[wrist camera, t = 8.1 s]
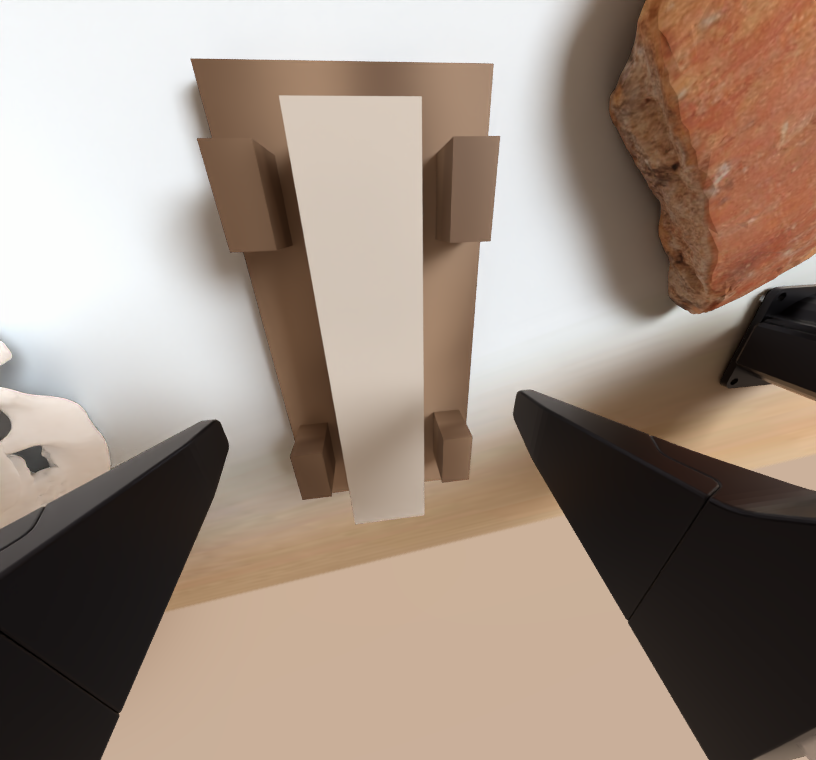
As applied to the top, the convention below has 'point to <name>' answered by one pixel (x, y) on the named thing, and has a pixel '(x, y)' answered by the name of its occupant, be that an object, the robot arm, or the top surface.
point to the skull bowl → (45, 450)
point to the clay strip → (367, 283)
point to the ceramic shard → (724, 139)
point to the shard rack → (286, 251)
